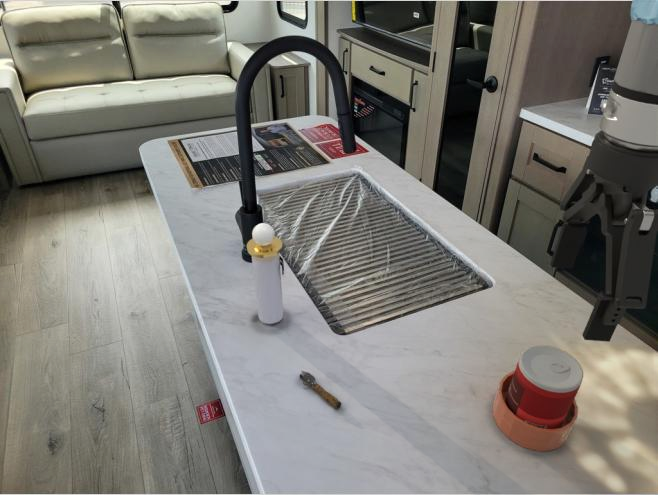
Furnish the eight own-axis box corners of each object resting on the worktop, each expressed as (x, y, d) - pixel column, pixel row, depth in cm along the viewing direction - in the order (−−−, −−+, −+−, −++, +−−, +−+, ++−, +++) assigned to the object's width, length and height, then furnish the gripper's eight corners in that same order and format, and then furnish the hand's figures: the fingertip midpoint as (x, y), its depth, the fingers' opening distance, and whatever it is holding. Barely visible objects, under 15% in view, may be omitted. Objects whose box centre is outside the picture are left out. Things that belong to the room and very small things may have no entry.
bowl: (557, 392, 73) (565, 373, 70) (577, 455, 64) (588, 435, 62) (487, 386, 74) (493, 366, 71) (499, 446, 65) (506, 426, 63)
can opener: (342, 406, 70) (342, 401, 70) (330, 415, 69) (330, 410, 69) (305, 369, 76) (305, 365, 76) (293, 377, 75) (293, 372, 74)
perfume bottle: (261, 333, 83) (251, 238, 72) (250, 313, 87) (239, 220, 76) (292, 322, 85) (286, 229, 74) (280, 303, 89) (273, 212, 78)
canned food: (572, 430, 67) (597, 378, 61) (526, 449, 64) (548, 397, 58) (534, 389, 73) (553, 337, 66) (491, 405, 70) (507, 353, 64)
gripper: (562, 97, 58) (523, 241, 70) (654, 195, 37) (577, 375, 49) (627, 98, 57) (576, 244, 69) (757, 199, 37) (653, 381, 49)
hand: (576, 299), depth 59 cm, fingers open, 13 cm apart
